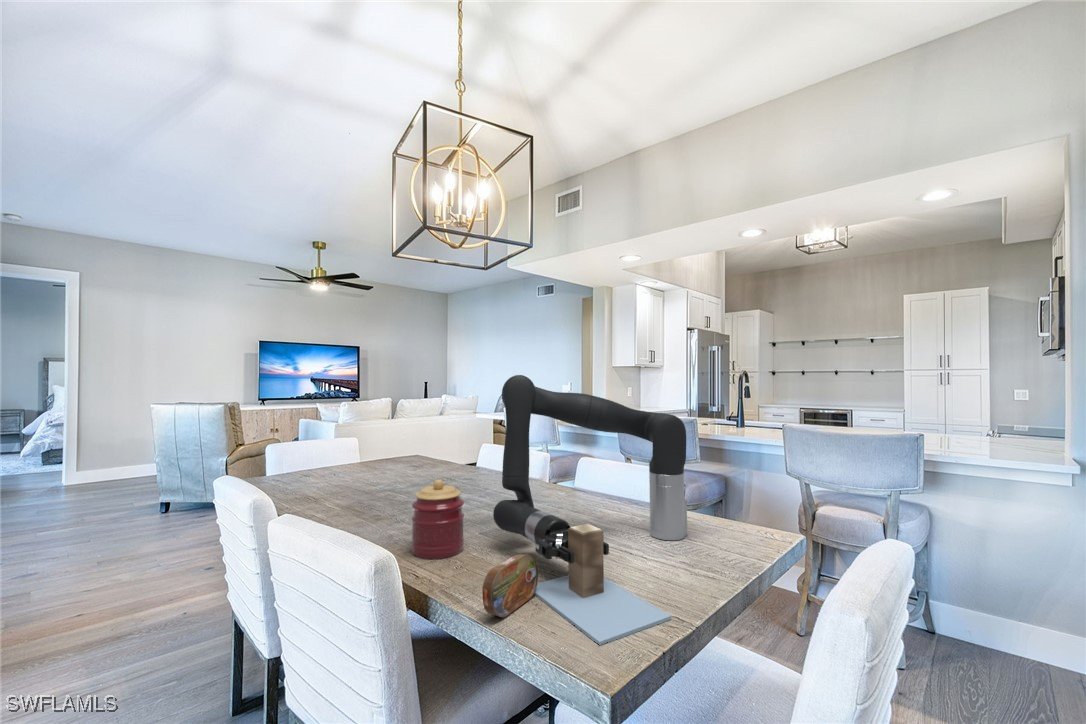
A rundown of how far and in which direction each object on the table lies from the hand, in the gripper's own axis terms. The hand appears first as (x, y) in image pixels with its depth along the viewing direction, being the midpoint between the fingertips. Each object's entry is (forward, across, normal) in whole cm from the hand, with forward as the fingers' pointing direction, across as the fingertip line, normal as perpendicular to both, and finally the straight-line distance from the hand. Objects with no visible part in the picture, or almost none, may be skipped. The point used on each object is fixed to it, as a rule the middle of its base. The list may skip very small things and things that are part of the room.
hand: (590, 553), depth 92 cm
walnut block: (-2, 0, +8) cm, 8 cm away
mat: (+2, -1, +8) cm, 9 cm away
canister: (-41, -18, +8) cm, 45 cm away
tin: (-5, -15, +8) cm, 18 cm away
